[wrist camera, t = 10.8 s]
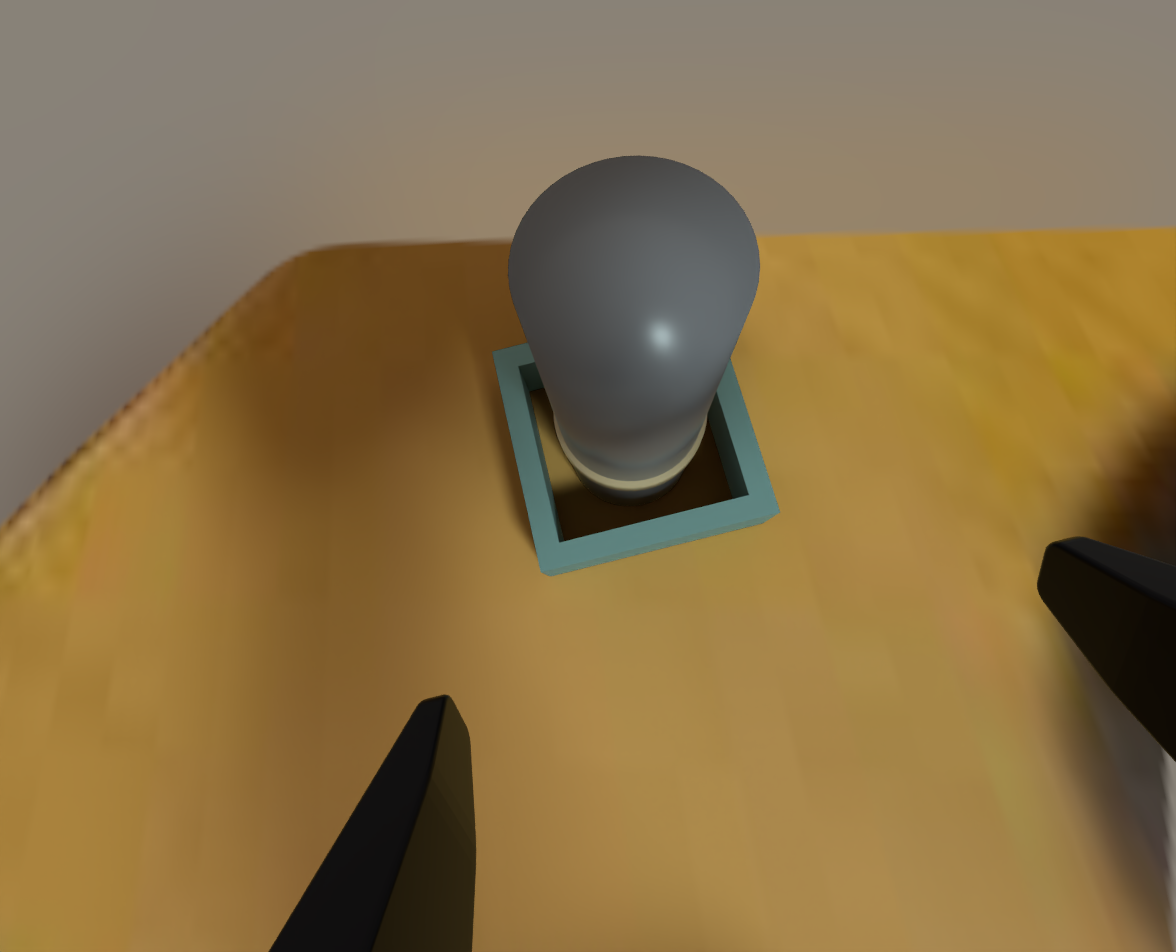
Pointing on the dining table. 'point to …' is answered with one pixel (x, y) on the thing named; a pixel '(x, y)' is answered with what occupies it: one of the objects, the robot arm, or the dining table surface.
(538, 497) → the frame
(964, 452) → the dining table surface
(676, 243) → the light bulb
